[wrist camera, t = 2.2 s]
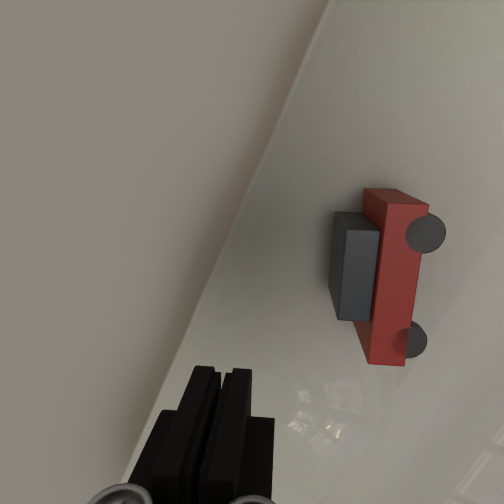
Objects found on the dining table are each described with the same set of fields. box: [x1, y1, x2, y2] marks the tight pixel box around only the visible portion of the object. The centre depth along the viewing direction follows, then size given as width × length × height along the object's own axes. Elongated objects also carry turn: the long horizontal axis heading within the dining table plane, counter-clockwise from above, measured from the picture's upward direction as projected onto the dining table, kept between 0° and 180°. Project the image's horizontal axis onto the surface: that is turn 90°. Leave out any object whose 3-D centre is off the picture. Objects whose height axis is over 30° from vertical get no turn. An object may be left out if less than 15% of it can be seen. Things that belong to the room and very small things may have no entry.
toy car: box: [329, 188, 446, 366], centre depth 23 cm, size 9×5×6 cm, turn 178°
